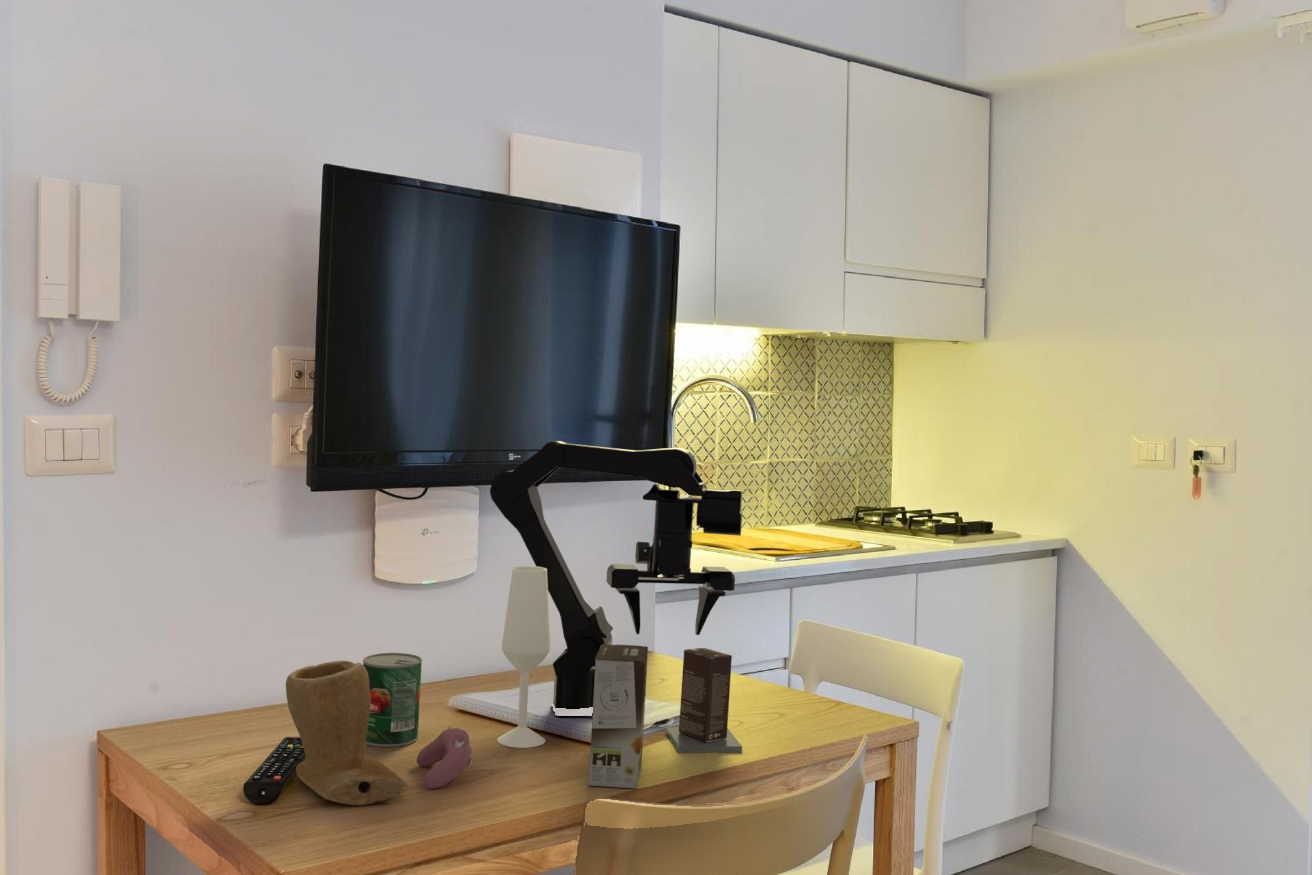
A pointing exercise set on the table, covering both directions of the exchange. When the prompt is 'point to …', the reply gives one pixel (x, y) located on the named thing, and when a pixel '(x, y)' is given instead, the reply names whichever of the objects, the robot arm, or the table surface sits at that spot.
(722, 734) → the box
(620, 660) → the coffee box
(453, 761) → the purple curved piece
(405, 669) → the canned tomato
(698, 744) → the slate pad
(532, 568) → the champagne flute
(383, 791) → the brown boot
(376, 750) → the table surface
